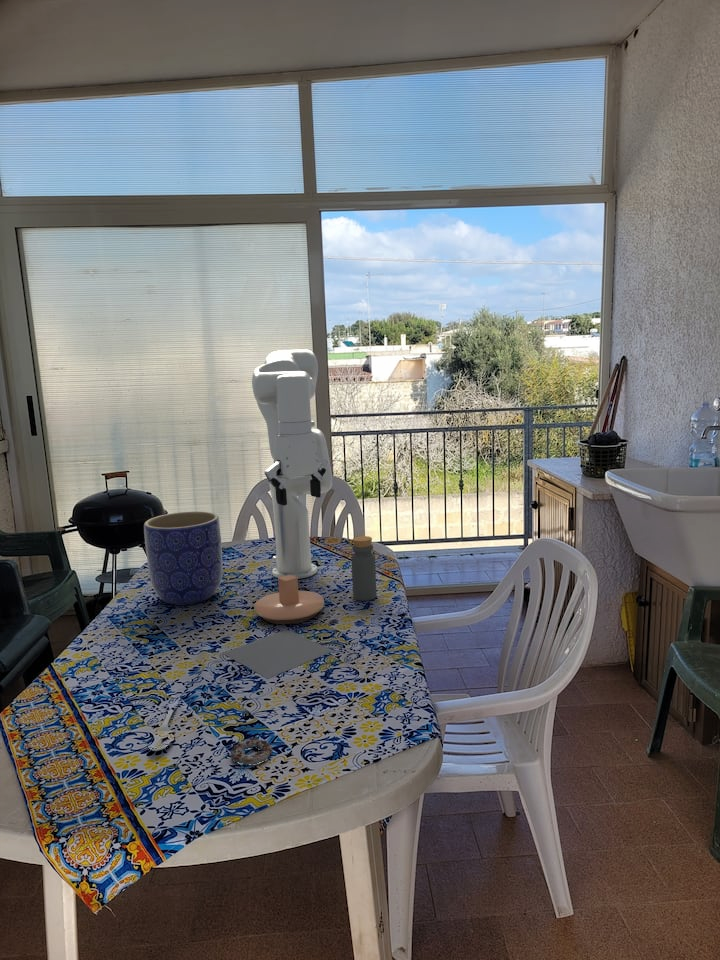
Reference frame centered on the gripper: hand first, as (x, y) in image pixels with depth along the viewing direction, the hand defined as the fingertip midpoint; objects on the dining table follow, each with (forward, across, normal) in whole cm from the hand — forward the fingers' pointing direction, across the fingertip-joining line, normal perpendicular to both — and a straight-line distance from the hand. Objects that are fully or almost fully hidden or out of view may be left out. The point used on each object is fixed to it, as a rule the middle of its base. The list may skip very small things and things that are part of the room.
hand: (299, 500), depth 154 cm
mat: (+25, +21, +20) cm, 38 cm away
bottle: (+26, -13, +8) cm, 30 cm away
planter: (+27, +18, -26) cm, 41 cm away
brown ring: (+26, +7, +4) cm, 28 cm away
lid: (+23, +7, +4) cm, 25 cm away
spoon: (+24, +48, +27) cm, 60 cm away
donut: (+24, +43, +46) cm, 67 cm away
